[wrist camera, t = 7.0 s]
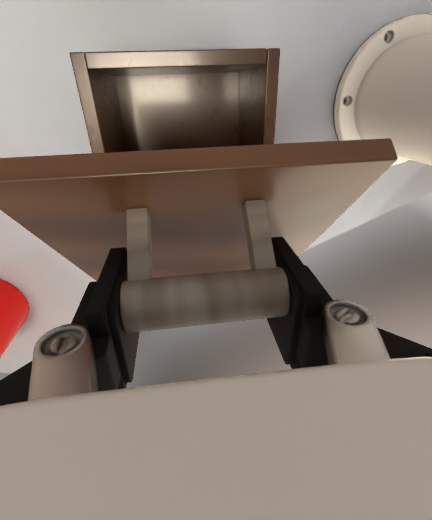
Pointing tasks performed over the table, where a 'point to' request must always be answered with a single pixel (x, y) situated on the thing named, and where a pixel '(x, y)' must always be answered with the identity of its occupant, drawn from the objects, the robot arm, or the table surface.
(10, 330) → the mug
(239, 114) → the chest
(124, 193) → the lid
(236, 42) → the table surface
